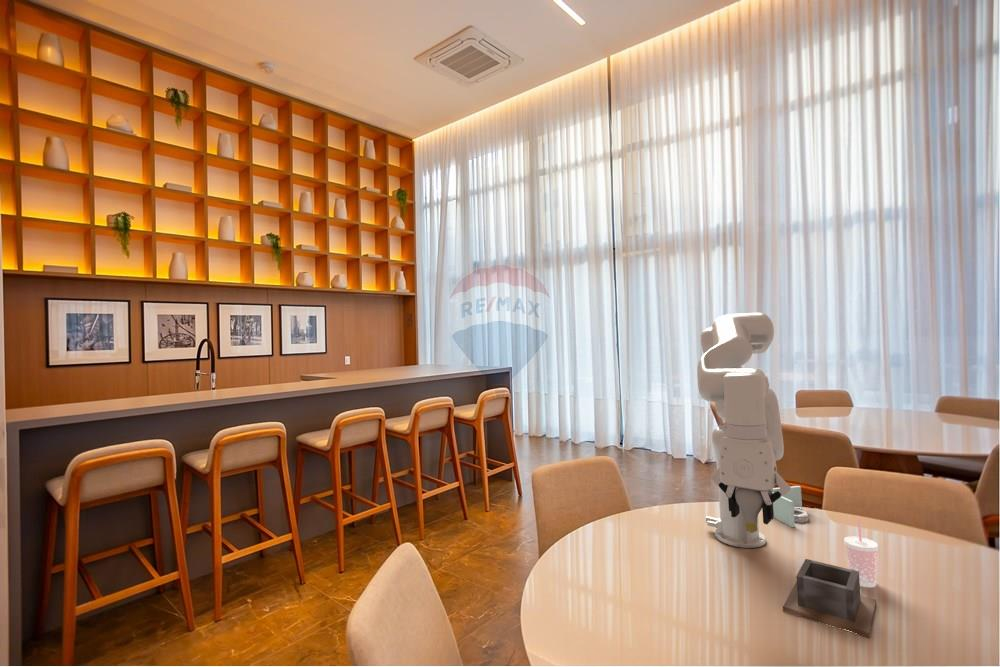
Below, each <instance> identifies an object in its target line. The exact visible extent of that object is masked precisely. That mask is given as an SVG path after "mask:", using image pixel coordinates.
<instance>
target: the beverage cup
mask: <svg viewBox="0 0 1000 667" xmlns="http://www.w3.org/2000/svg"><path fill="white" fill-rule="evenodd" d="M857 529H858V536H846V537H844V538H843V541H844V542H843V543H844V546H845V548H846V549H845V551H846V556H847V565H848V569H851V570H855V571H859V580H860V587H863V588H875V587H876V586H877V551H878V549H879V545H878V542H876V541H874V540H872V539H869V538H866V537H862V525H861V519H859V518H858V519H857Z"/></svg>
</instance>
